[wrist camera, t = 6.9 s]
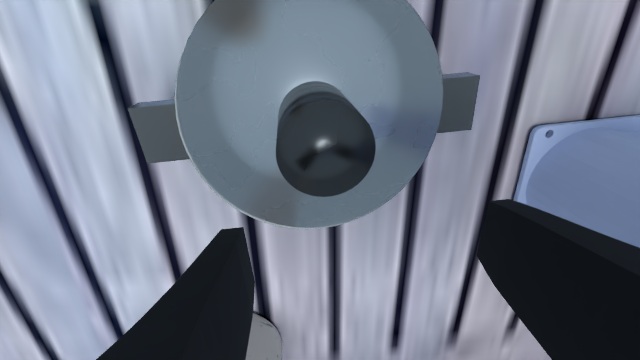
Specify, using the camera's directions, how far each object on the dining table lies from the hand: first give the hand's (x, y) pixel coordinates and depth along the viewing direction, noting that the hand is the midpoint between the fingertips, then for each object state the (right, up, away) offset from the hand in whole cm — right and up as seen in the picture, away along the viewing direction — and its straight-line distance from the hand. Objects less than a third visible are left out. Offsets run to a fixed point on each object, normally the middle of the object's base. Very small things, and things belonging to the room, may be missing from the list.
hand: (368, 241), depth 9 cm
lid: (-2, +5, +3) cm, 6 cm away
